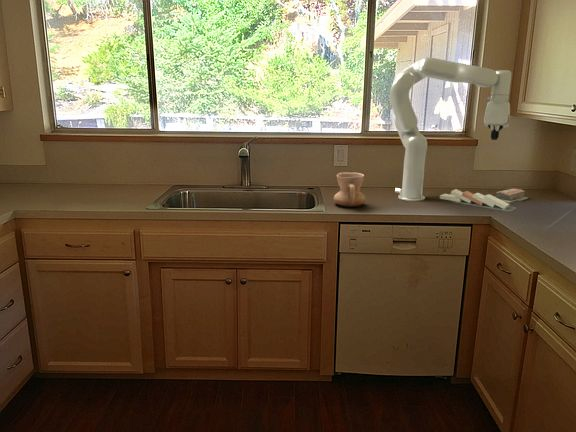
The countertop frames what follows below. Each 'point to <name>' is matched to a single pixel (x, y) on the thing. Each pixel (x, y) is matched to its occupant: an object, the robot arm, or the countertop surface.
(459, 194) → the domino
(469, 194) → the domino
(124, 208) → the countertop surface
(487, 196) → the domino
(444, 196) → the domino
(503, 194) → the packaged product
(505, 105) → the robot arm
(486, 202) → the domino
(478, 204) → the mat
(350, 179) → the ceramic jug
